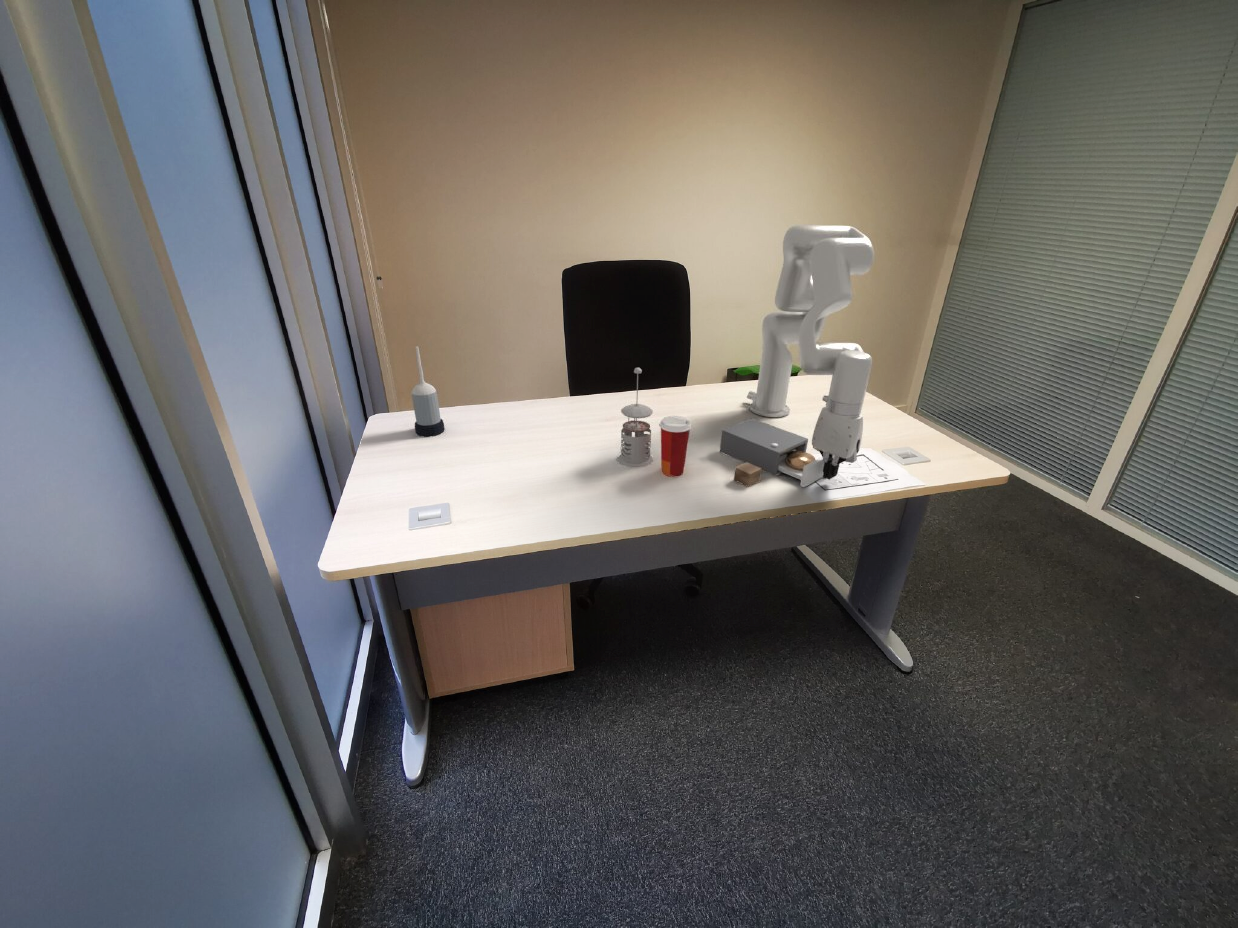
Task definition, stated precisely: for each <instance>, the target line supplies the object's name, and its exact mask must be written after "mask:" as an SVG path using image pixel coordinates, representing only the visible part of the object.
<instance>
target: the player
mask: <svg viewBox="0 0 1238 928" xmlns="http://www.w3.org/2000/svg"><path fill="white" fill-rule="evenodd" d="M808 442H809V438H807V437H804V436H801V435H799V434H797V433H793V432H790V431H789V430H788V431H787V430H785V429H783V428H780V427H778V426H774V425H771V424H768V423H766V422H764V421H763V422H762V421H760V420H757V419H755V418H750V419H747V420H744V421H741V422H739V423H736V424H734V425H731V426H729V427H726V428H724V429H722V430H721V437H720V446H719V452H720V453H722V454H725V455H726V456H729V457H731V458H734V459H736V460H738V461H739V462H742V463H743V464H744V463H746V462H748V463H750V464H752V465H755V466H757V467H759V468H761V469H762V470H761V471H763V472H765V473H768V474H770V475H773V476H774V477H776V476H778V475H780V474H782V473H783V472H781V471H779V470H778V465H779V459H780V455H781V454H783V453H785V452H787V451H789V450H791V449H793V448H794V449H796V451H802V452H806V453H807V449H808V444H809V443H808Z"/></svg>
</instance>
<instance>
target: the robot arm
mask: <svg viewBox="0 0 1238 928" xmlns="http://www.w3.org/2000/svg"><path fill="white" fill-rule="evenodd" d="M782 254H783V263H782V267H781V271H780V275H779V280H778V283H777V287H776V291H775V296H774V305H775V307H776V308H777V309H778V310H779V311H772V312H770V313H768V314H766V316H764V318H763V321H762V325H761V327H762V328H761V331H762V346H761V347H762V348H761V357H760V364H759V371H758V372H759V374H758V380H757V388H756V392H755V391H752V390H750V391H748V394H747V395H746V398H747V399H749V400H751V401H752V402H751V403H750V404H749V410H750V411H751V412H752V413H754V414H756V415H759V416H761V417H766V418H767V417H768V418H782V417H786V416H788V415H789V414H790V412H791V409H790V407H789V406H788V405H787V398H788V392H789V387H790V380H791V374H792V367H793V361H794V360H793V355H792V352H791V351H790V349H789V348H788V347H787V345H793V344H795V345H796V344H797V347H798V348H797V349H798V360H799V365H800V368H801V370H802V371H803V372H804V373H805V374H806V375H809V376H832V377H831V380H830V381H831V382H830V386H829V392H828V394H827V395H823V396H822V401H823V402H825V406H824V407H822V408H821V410H820V413H819V415H818V417H817V420H816V423H815V426H814V430H813V434H812V437H811V446H812V448H813V449H814V450H816V451H817V452H819V453H820V455H821V457H823V461H824V462H825V463H824V467H823V472H824V474H823V477H822V478H825V479H826V480H831V479H833V478H835V477H837V475H838V473H839V468H840V464H841V463H844V462H846V463H855V462H857V460H858V458H857V457H858V453H859V451H860V449H861V444H862V439H863V430H864V415H863V414H862V410H863V404H864V400H865V397H866V392H867V388H868V384H869V379H870V374H871V372H872V371H871V370H872V365H873V357H872V356H871V355H870V354H869V353H866V352H865V351H864V350H863V348H862V347H861V345H859V344H858V343H855V342H830V341H829V342H823V341H821V342H817V341H818V340H819V339H820V337H821V334H822V332H823V329H824V327H825V324H826V321H827V318H828V316H829V315H832V314H834V313H837V312H839V311H842V310H843V309H845V308H846V307H847V306H849V305H850V304H851V303H852V301H853V289H852V281H851V276H863V275H865V274H867V273H868V272H869V271H870V270H871V269H872V267H873V265H874V261H875V249H874V246H873V244H872V241H871V240H870V239H869V237H868V236H866V235H865V234H864V233H862V232H861V231H860V230H858V229H857V228H855V227H854V226H850V225H824V224H823V225H822V224H799V225H798V224H796V225H793V226H791V227H789V228H788V229H787V230H786V231H785V234H784V237H783V241H782ZM834 455H835V456H834ZM833 456H834V458H833Z"/></svg>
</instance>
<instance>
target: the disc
mask: <svg viewBox="0 0 1238 928" xmlns="http://www.w3.org/2000/svg"><path fill="white" fill-rule="evenodd" d="M815 460H816V457H815V456H813V454H810V453H808V452H807V451H806V452H802V451H791V452H788V453H787V455H786V460H785V464H786V465H787V466H788V467H790V468H792V469H795V470H800V471H803V468H804V466H805V465H807V464H809V463H811V462H813V461H815Z"/></svg>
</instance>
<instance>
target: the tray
mask: <svg viewBox="0 0 1238 928" xmlns="http://www.w3.org/2000/svg"><path fill="white" fill-rule="evenodd" d="M791 451H796V449H794V448H793V449H791V450H789V451H787V452H785V453H783V454H781V455H780V459H779V465H778V470H779V471H781V472H782V473H783V474H786V475H788V476H791V477H793V478H795V479H798V480H800V485H799V486H800V487H803V488H806V487H807V486H809V485H811V484H813V483H814V482H816V481H817V480H820V479H822V478H824V477H823V474H824V472H823V467H824V463H825V462H824V461H823V457H822V456H820V457H819V458H817V459H816V458H815V461H813V462H811V463H809V464H807V465H805V466H804V468H803V471H800V470H795V469H792V468H790V467H788V466H787V465H786V464H785V460H786V455H787V453H788V452H791ZM834 456H835V455H834ZM834 456H833V458H834Z"/></svg>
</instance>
